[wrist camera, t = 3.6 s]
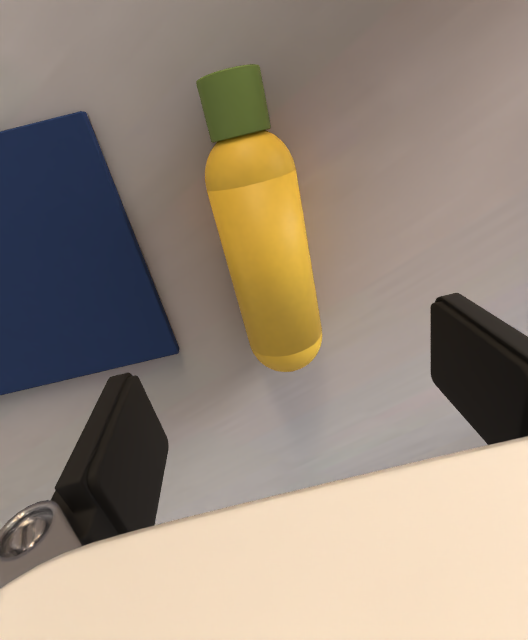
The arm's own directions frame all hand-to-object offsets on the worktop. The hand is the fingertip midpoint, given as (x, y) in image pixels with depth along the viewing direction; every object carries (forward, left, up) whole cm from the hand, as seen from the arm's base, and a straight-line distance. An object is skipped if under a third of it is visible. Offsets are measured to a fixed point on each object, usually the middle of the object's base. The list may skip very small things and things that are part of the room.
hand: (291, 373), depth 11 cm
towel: (-2, -17, -12) cm, 20 cm away
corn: (-1, 0, -12) cm, 12 cm away
